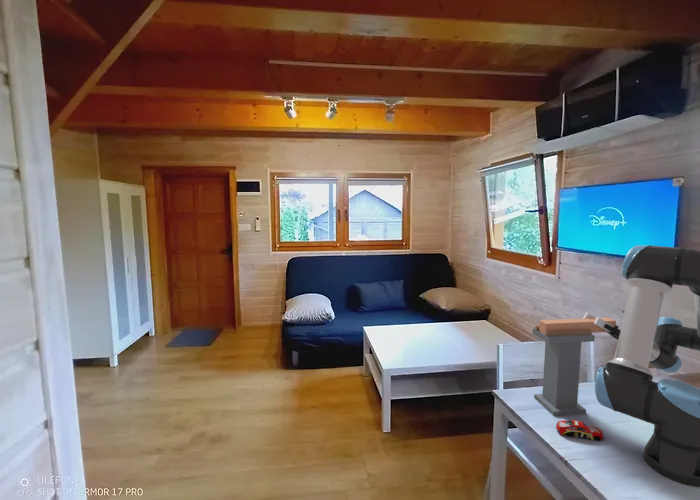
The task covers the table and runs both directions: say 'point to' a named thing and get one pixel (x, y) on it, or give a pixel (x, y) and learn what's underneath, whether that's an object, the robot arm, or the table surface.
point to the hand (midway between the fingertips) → (590, 318)
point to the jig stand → (562, 370)
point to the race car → (579, 430)
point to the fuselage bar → (573, 324)
